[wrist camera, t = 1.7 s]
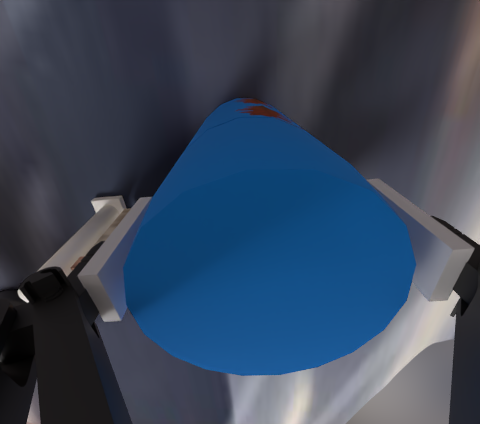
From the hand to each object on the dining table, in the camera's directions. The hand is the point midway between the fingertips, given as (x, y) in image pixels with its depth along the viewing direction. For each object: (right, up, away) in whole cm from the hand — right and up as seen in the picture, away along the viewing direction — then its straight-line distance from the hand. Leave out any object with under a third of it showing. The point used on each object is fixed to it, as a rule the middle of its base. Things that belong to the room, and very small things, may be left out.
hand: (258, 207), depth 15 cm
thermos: (-1, +9, +16) cm, 18 cm away
